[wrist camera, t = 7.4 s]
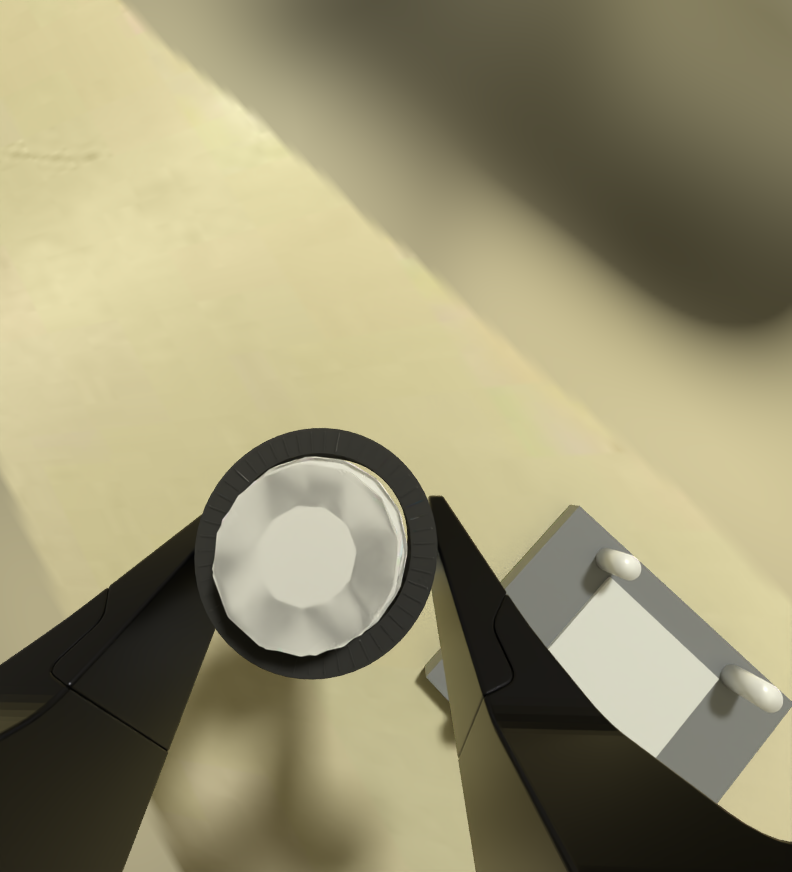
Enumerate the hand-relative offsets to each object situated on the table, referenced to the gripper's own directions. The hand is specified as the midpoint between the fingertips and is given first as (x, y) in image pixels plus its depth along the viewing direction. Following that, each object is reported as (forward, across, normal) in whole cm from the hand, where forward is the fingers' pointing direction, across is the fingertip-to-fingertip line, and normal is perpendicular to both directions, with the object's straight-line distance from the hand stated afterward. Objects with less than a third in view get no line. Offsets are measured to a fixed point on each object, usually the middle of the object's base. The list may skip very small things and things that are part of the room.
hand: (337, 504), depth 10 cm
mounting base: (+2, -14, +17) cm, 22 cm away
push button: (+4, 0, +6) cm, 7 cm away
